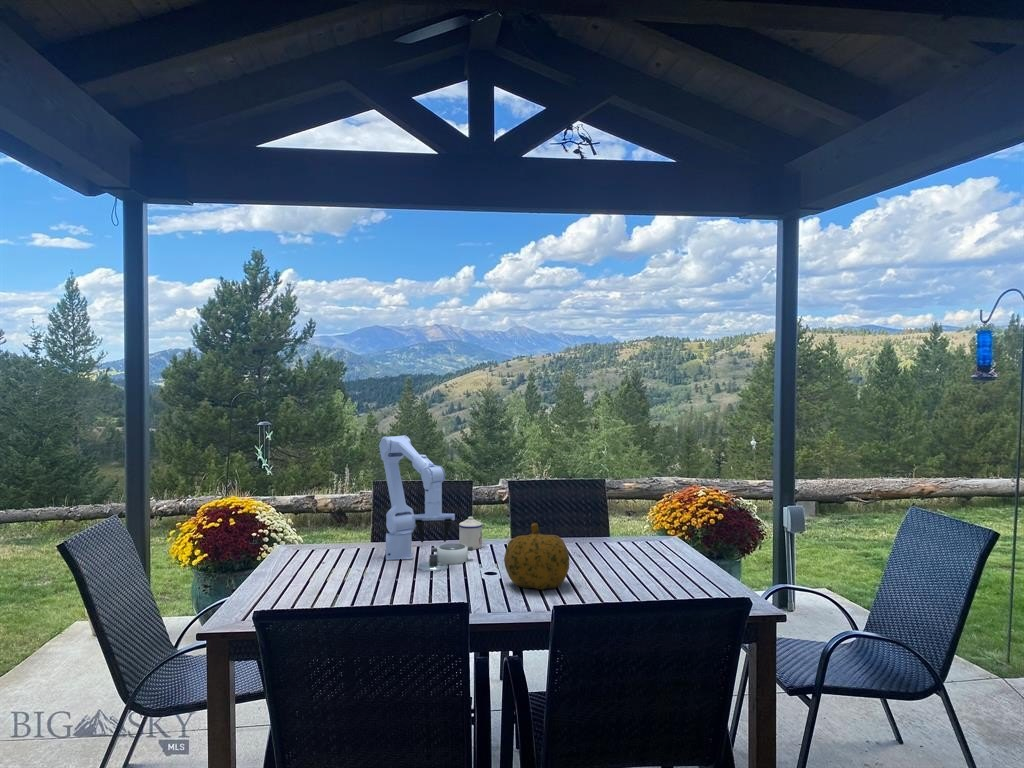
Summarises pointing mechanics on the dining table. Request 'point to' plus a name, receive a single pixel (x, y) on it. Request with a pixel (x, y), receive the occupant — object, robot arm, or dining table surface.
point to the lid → (433, 564)
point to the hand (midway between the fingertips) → (433, 541)
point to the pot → (452, 553)
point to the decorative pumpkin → (537, 560)
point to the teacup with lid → (470, 533)
